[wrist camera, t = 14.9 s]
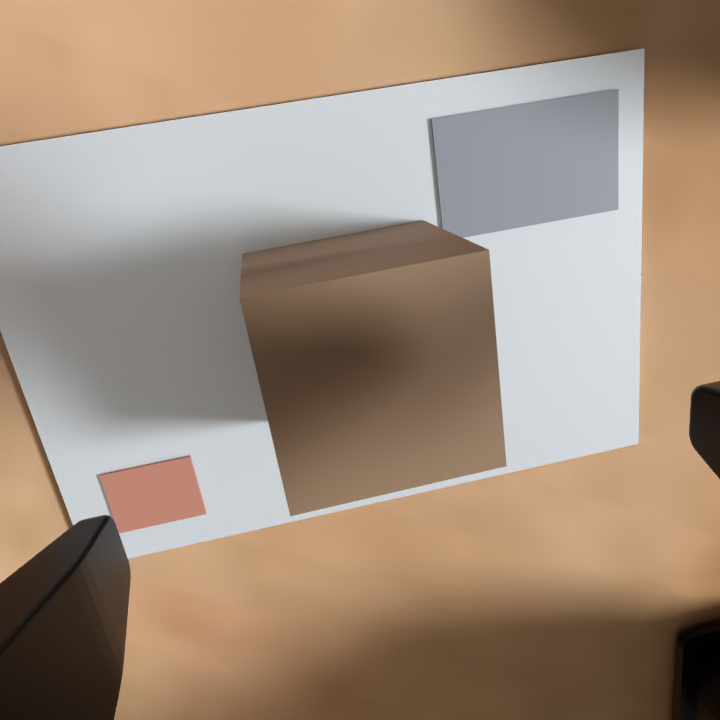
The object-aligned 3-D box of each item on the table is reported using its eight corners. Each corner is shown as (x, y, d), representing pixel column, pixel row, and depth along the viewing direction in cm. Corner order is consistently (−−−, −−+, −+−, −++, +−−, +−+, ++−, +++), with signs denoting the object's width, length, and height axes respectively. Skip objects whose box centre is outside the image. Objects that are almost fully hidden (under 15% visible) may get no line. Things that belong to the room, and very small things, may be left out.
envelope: (635, 441, 21) (639, 444, 21) (90, 563, 19) (88, 569, 19) (640, 49, 17) (646, 47, 16) (-62, 156, 15) (-68, 156, 14)
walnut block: (442, 385, 19) (506, 466, 14) (279, 420, 18) (290, 516, 14) (423, 219, 17) (489, 249, 12) (242, 253, 16) (239, 298, 12)
